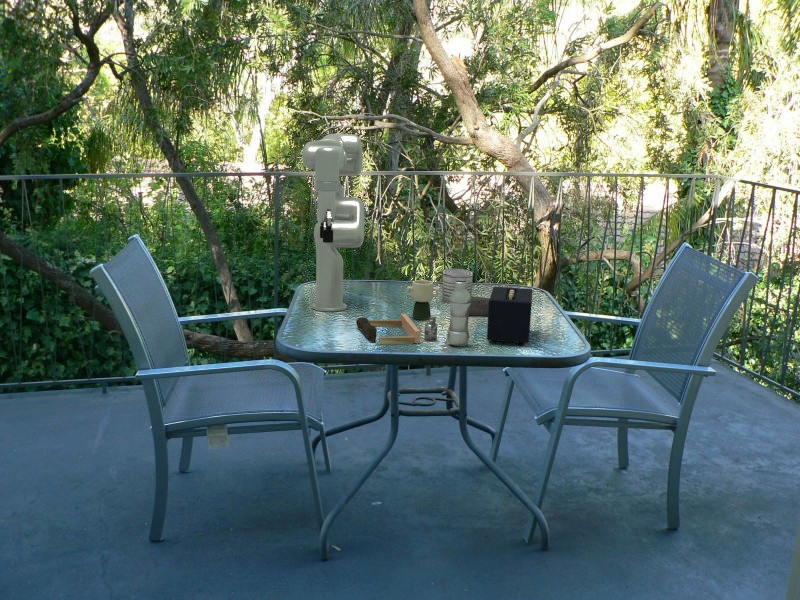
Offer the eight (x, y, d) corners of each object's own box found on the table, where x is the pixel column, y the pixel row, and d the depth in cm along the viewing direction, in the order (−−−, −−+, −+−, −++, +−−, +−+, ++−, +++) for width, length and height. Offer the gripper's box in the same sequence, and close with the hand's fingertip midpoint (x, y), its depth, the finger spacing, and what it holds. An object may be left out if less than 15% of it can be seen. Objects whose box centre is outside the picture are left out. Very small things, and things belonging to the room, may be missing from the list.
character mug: (437, 317, 292) (438, 280, 289) (437, 322, 285) (438, 284, 282) (406, 315, 292) (407, 279, 289) (405, 320, 285) (406, 283, 282)
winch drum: (422, 338, 264) (423, 312, 262) (435, 337, 264) (436, 312, 263) (427, 343, 258) (428, 317, 256) (439, 342, 259) (440, 317, 257)
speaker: (491, 328, 280) (493, 284, 276) (529, 330, 277) (532, 286, 274) (486, 344, 259) (489, 297, 255) (528, 347, 257) (531, 300, 253)
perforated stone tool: (499, 314, 299) (500, 295, 298) (501, 317, 294) (502, 298, 293) (457, 313, 299) (458, 294, 297) (459, 316, 294) (460, 297, 292)
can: (469, 299, 322) (470, 268, 319) (473, 306, 311) (475, 274, 308) (439, 298, 321) (441, 268, 319) (443, 305, 310) (444, 273, 308)
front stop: (400, 325, 279) (400, 313, 278) (405, 325, 279) (405, 313, 278) (414, 343, 257) (415, 331, 256) (419, 343, 257) (420, 331, 256)
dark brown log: (356, 328, 273) (356, 315, 272) (368, 328, 274) (368, 314, 273) (365, 344, 255) (365, 330, 254) (378, 344, 256) (378, 329, 255)
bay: (367, 325, 277) (368, 320, 276) (400, 325, 279) (400, 319, 278) (379, 344, 255) (379, 338, 254) (414, 343, 257) (415, 337, 256)
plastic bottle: (445, 342, 260) (448, 279, 255) (467, 342, 260) (470, 279, 256) (448, 347, 253) (451, 283, 249) (470, 348, 254) (473, 283, 250)
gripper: (312, 184, 273) (312, 236, 277) (317, 189, 257) (317, 244, 260) (335, 184, 275) (334, 236, 278) (342, 189, 258) (341, 244, 262)
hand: (326, 240), depth 269 cm, fingers open, 9 cm apart
